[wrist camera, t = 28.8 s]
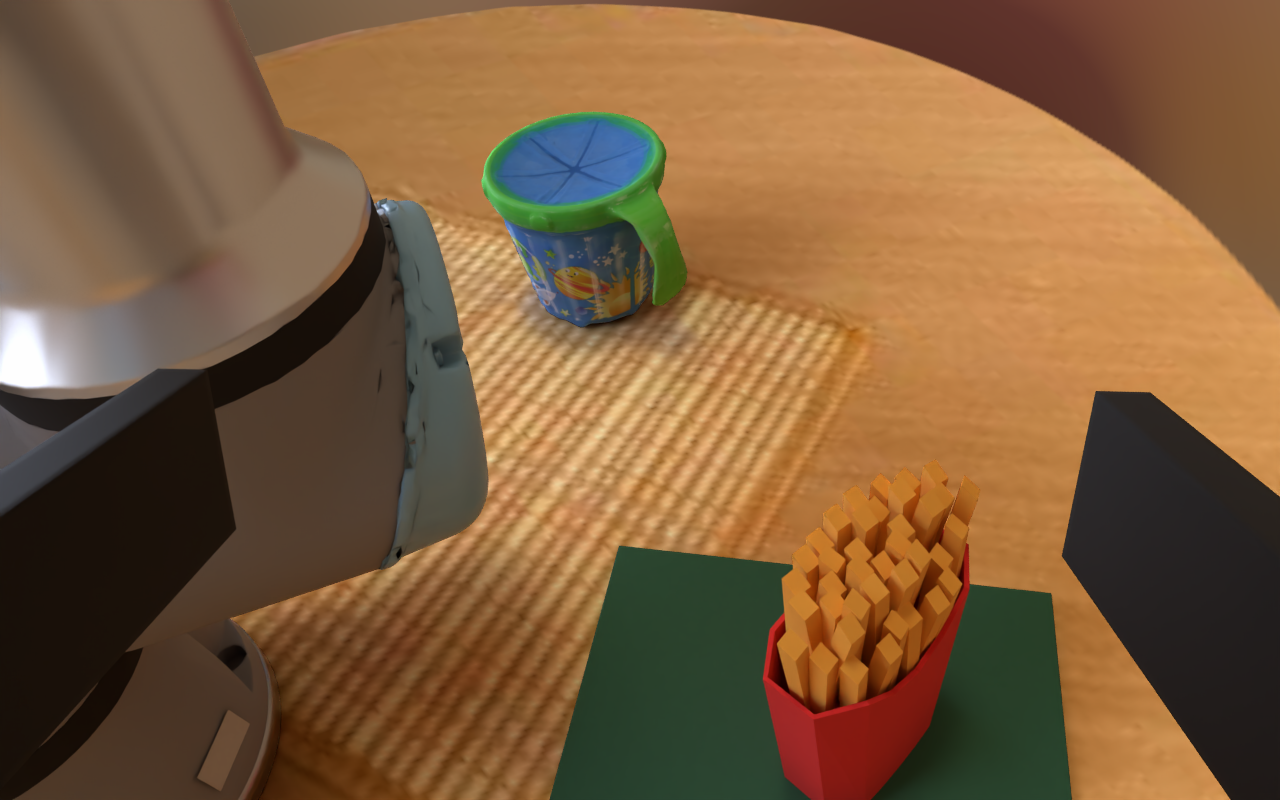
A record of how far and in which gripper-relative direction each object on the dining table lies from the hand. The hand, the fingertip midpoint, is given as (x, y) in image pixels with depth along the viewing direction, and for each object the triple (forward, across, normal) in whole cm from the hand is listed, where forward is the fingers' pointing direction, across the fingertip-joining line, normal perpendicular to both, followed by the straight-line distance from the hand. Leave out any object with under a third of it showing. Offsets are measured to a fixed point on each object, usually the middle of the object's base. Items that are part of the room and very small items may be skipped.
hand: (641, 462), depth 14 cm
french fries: (+18, +8, -21) cm, 29 cm away
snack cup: (+46, -5, -10) cm, 47 cm away
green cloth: (+19, +6, -21) cm, 29 cm away
